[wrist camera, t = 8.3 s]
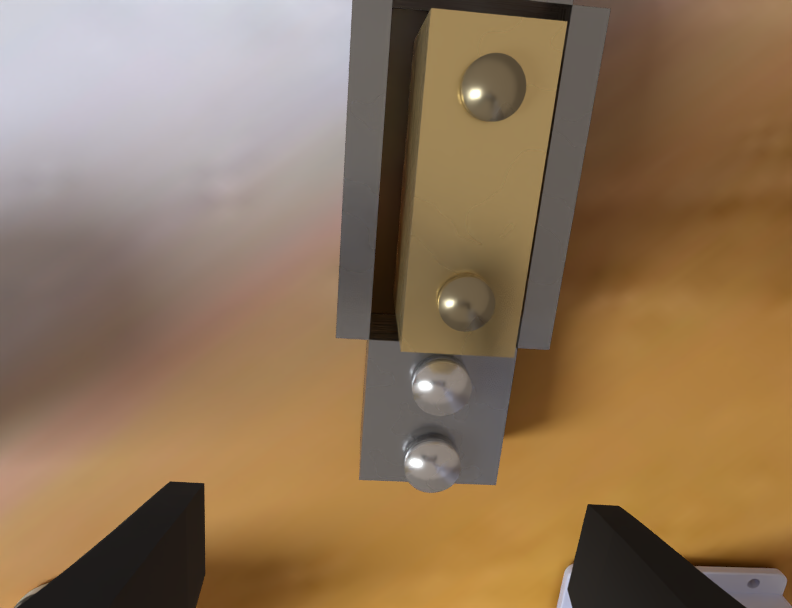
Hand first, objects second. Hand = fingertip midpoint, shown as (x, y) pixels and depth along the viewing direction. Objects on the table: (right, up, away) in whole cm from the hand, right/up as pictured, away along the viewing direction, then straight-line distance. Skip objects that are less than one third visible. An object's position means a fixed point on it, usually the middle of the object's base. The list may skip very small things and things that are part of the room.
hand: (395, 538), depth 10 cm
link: (+2, +8, +8) cm, 11 cm away
